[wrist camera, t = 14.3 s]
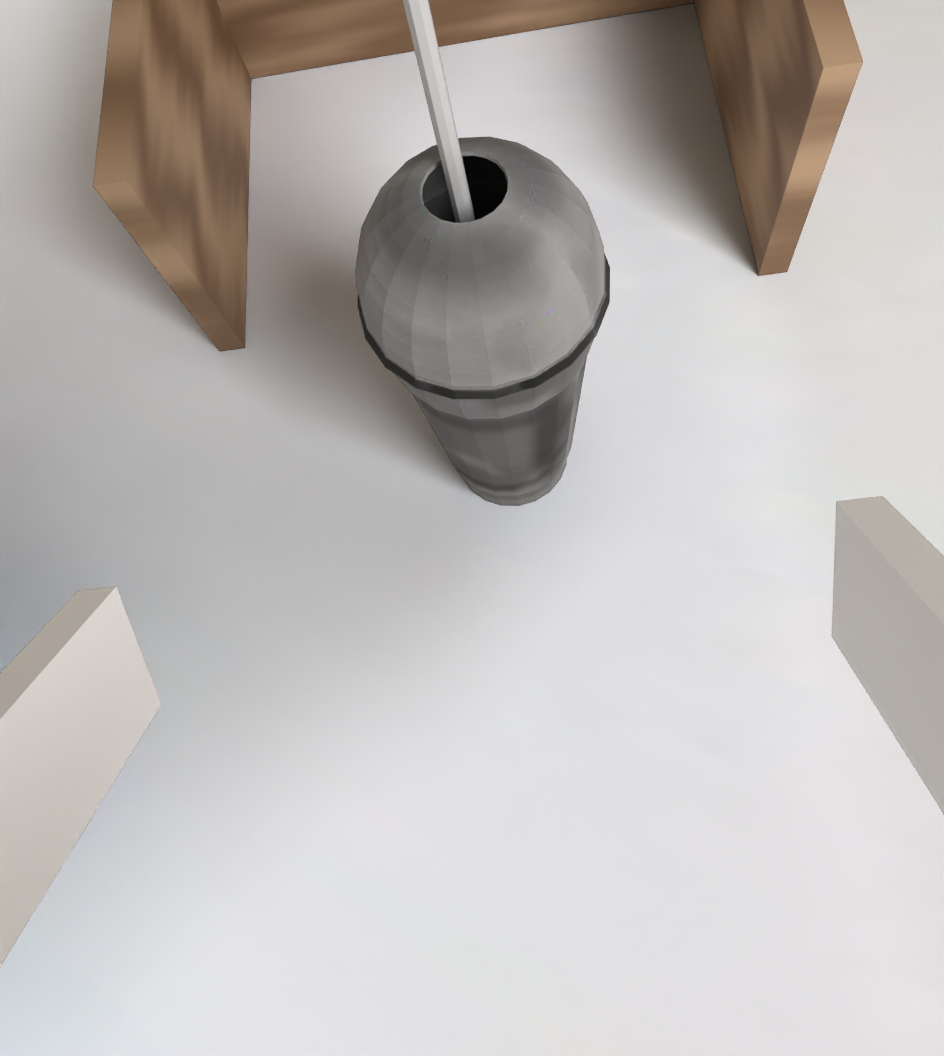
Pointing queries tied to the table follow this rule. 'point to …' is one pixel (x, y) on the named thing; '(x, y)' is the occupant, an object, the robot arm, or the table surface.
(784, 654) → the table surface
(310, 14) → the open-sided wooden shelf
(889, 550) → the robot arm
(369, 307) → the beverage cup
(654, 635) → the table surface
